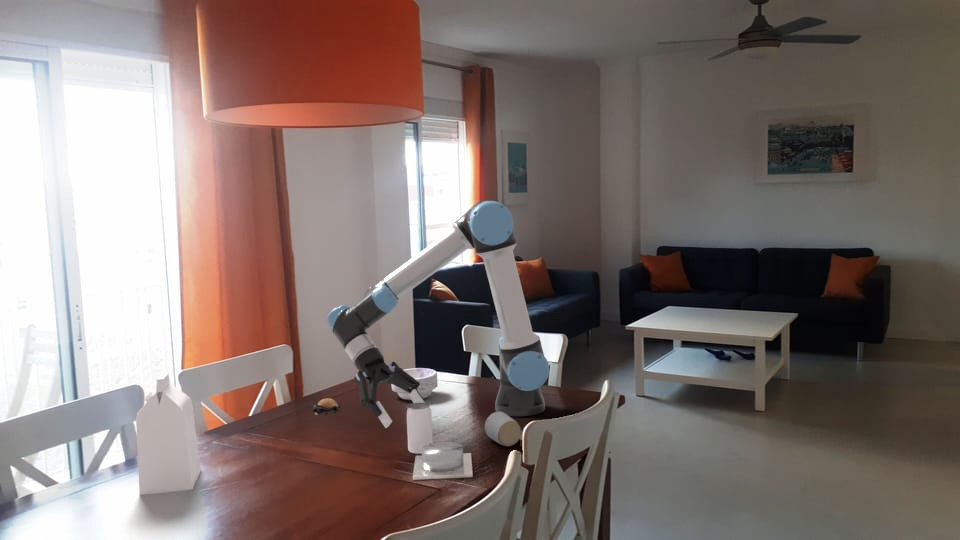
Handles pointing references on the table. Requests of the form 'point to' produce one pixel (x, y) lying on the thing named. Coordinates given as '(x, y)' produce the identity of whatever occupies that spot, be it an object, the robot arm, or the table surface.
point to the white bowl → (425, 379)
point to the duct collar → (442, 462)
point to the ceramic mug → (503, 429)
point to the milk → (167, 441)
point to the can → (419, 427)
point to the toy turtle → (326, 406)
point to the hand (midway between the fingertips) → (407, 417)
